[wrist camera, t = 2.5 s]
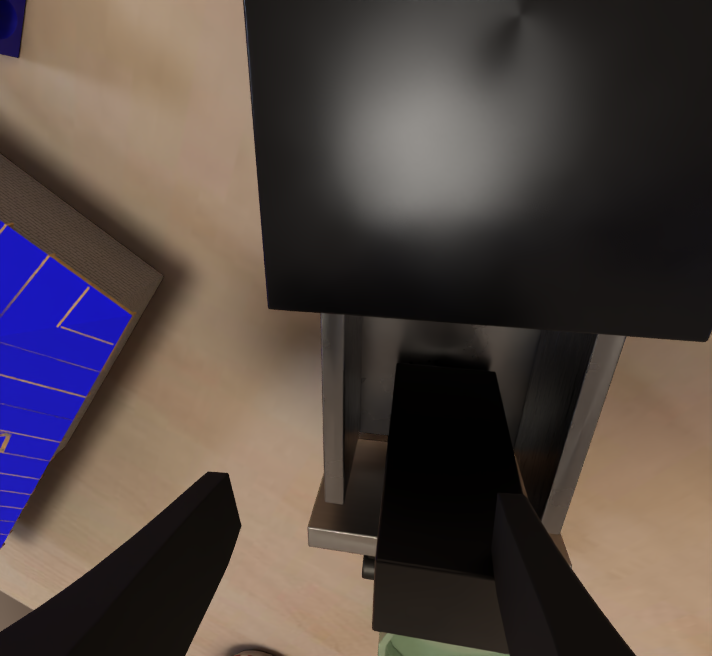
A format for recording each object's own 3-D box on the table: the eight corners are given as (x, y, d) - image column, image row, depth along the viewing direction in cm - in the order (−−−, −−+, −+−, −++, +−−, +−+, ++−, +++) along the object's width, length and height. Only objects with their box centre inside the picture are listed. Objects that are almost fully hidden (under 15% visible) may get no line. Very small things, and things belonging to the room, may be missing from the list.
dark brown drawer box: (592, 263, 17) (708, 343, 10) (324, 248, 18) (266, 310, 12) (722, -211, 11) (1192, -765, 4) (317, -177, 13) (196, -550, 6)
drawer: (515, 531, 23) (542, 647, 17) (335, 506, 24) (310, 607, 19) (593, 236, 16) (679, 282, 10) (333, 224, 17) (293, 260, 12)
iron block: (496, 370, 17) (545, 587, 10) (479, 439, 19) (510, 655, 12) (396, 361, 17) (374, 561, 10) (392, 429, 20) (371, 631, 13)
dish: (576, 588, 25) (591, 632, 23) (536, 688, 30) (545, 732, 28) (385, 559, 27) (381, 597, 24) (377, 659, 32) (374, 698, 29)
